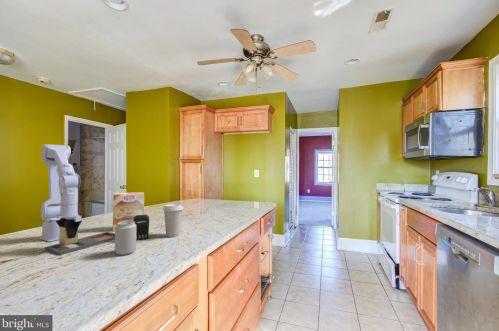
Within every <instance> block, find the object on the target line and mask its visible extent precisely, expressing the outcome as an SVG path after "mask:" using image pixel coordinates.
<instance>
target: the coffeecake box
mask: <svg viewBox="0 0 499 331" xmlns="http://www.w3.org/2000/svg"><path fill="white" fill-rule="evenodd" d="M112 201H113V204H112V232H115V227H116V226H117V225H118V224H117V223H119V222H122V221H133V217H134V216H135V215H141V214H145V192H144V191H141V192H140V191H139V192H137V191H136V192H114V193H113V198H112Z"/></svg>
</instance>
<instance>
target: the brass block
mask: <svg viewBox="0 0 499 331" xmlns="http://www.w3.org/2000/svg"><path fill="white" fill-rule="evenodd" d="M78 236H79V229H78V230H77V233H76V236H75V238H70V239H69V238H68V231H67V227H66V225H65V226H60V233H59V240H58V241H59V242H58V244H62V245H65V246H69V245H73V244H75V243H76V242H78V239H79V237H78Z"/></svg>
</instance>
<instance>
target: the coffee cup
mask: <svg viewBox="0 0 499 331" xmlns="http://www.w3.org/2000/svg"><path fill="white" fill-rule="evenodd" d="M162 210H163V214H164V216H163V217H164V225H165V226H164V228H165V236H166V238H167V237H168V238H176V237H180V235H181V227H182V226H181V225H182V216H183V210H184V206H182V204H180V203H169V204H164V207H163V208H162Z"/></svg>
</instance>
